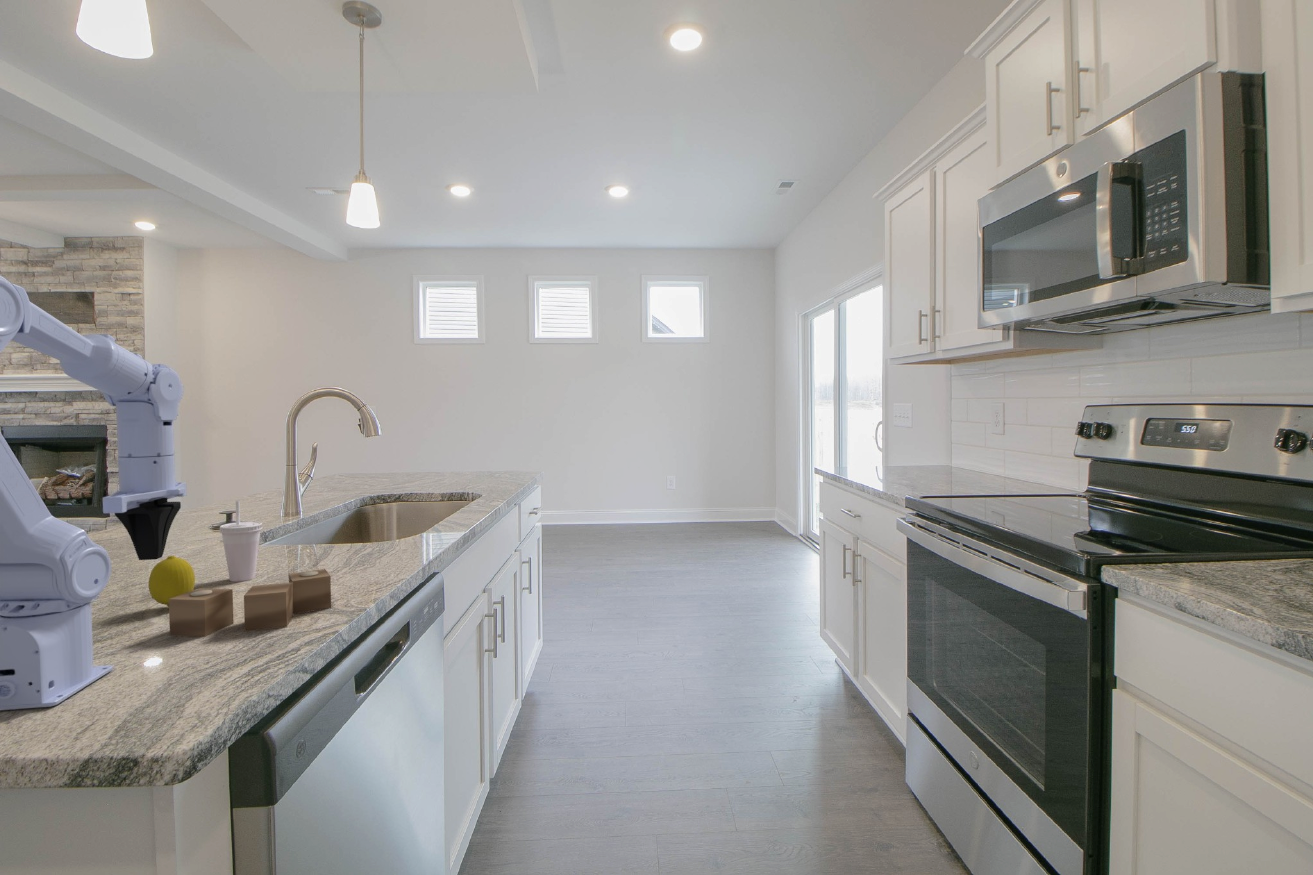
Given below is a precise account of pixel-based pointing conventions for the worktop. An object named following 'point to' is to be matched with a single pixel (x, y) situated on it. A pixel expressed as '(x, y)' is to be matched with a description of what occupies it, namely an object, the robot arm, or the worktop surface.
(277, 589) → the plain block
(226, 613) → the dotted block
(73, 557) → the robot arm
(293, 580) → the dotted block
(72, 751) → the worktop surface
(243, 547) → the smoothie
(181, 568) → the lemon
